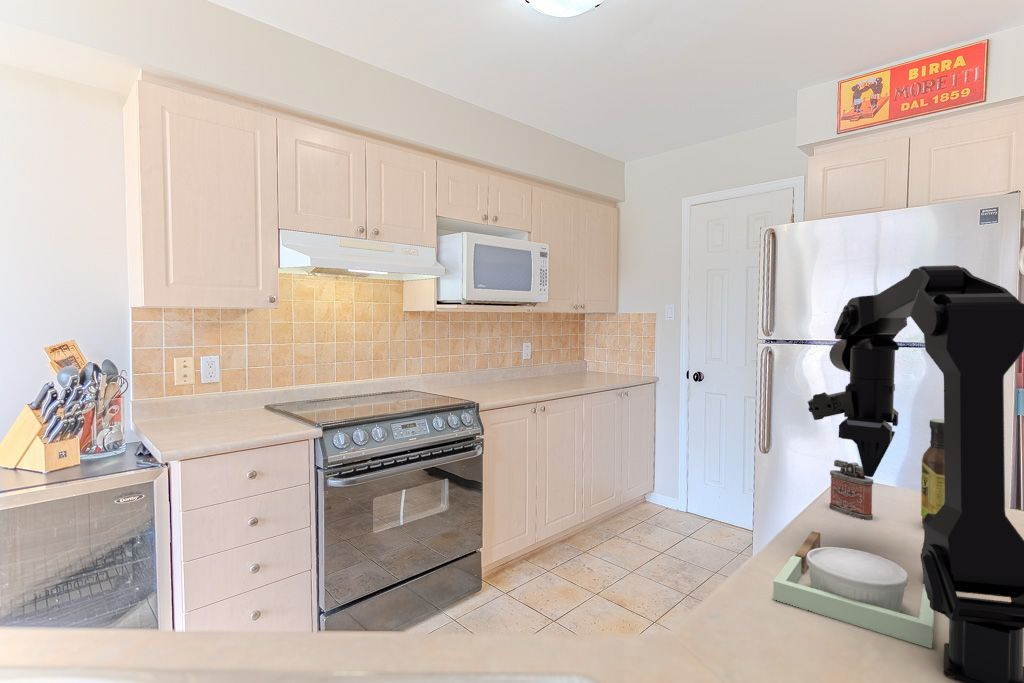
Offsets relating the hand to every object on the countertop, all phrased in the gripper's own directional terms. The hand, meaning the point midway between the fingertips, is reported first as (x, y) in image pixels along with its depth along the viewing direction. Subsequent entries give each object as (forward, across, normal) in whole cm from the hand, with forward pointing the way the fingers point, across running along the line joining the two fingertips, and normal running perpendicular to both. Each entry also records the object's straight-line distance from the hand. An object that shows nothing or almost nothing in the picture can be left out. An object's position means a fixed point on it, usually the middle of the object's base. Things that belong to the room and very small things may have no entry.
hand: (868, 476), depth 82 cm
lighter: (+14, -22, -5) cm, 26 cm away
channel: (+13, +8, 0) cm, 15 cm away
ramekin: (+13, +18, 0) cm, 22 cm away
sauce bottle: (+14, -21, +9) cm, 27 cm away
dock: (+12, +19, 0) cm, 23 cm away
